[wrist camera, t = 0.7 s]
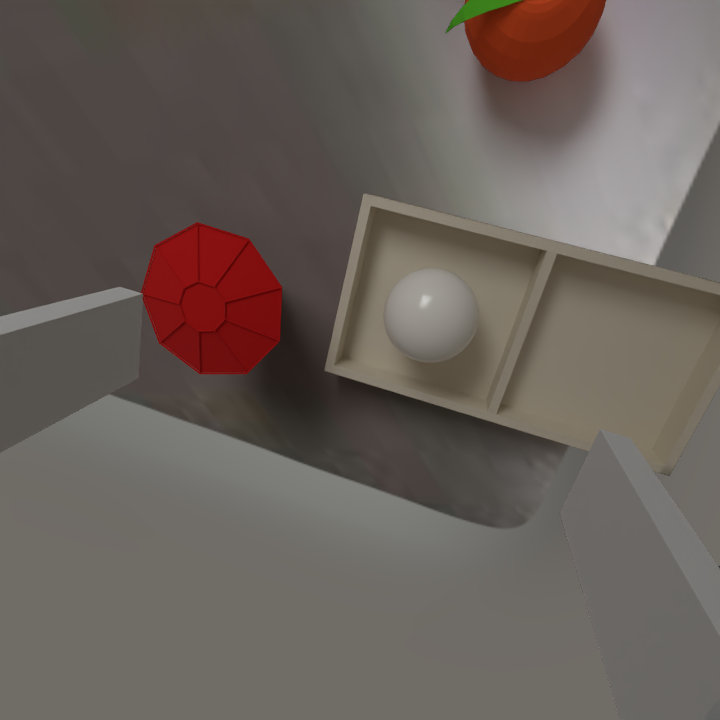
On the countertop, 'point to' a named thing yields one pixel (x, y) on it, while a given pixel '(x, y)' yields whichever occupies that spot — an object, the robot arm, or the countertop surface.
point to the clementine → (528, 34)
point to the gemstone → (213, 300)
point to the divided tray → (537, 332)
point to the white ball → (431, 315)
